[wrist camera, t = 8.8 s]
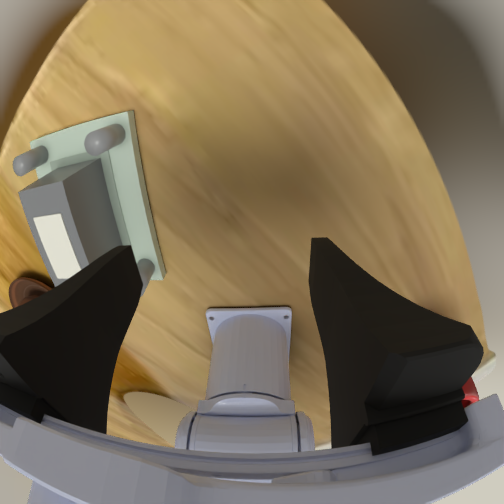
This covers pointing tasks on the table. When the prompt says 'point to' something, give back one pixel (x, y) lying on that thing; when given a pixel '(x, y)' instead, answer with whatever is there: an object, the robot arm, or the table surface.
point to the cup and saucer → (26, 290)
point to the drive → (71, 218)
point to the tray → (107, 179)
